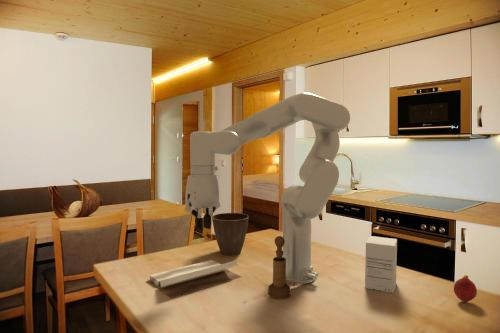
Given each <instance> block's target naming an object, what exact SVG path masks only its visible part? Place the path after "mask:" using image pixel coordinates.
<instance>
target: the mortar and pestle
mask: <svg viewBox="0 0 500 333" xmlns="http://www.w3.org/2000/svg"><path fill="white" fill-rule="evenodd" d="M284 243H285V240H284V238H283V235H282V236H281V235H280V236H276V237H275V238H274V244H275V247H277V249H276V250H275V254H276V257H273V258H272V283H271V284H270V285H269V286H268V292H267V293H268V297H270V298H272V299H277V300H283V299H287V298H289V297H290V296H291V286H290V285H289V284H288V283H287V282H286V281H287V280H286V259H285V258H283V245H284Z"/></svg>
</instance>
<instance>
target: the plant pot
mask: <svg viewBox="0 0 500 333" xmlns="http://www.w3.org/2000/svg"><path fill="white" fill-rule="evenodd" d="M211 222H212V226H213V231H214V236H215V239H216V242H217V245H218V248H219V251H220V254H221V255H225V256H235V255H236V256H238V255H241V253H242V250H243V247H244V243H245V240H246V235H247V232H248V225H249V215H248V214H245V213H241V212H223V213H217V214H213V216H211Z"/></svg>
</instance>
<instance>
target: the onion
mask: <svg viewBox="0 0 500 333" xmlns="http://www.w3.org/2000/svg"><path fill="white" fill-rule="evenodd" d="M477 290H478V289H477V287H476V284H475V283H474V282H473V281H472V280H471V279H469V275H467V274H464V275H463V277H461V278H459V279H457V280H456V281H455V283H454V285H453V293H454V295H455V296H456V297H457V298H458V299H459V300H460V301H461V302H463V303H467V302H468V303H469V302H470V301H472V300H474V299H475V298H476V297H477V295H478V291H477Z"/></svg>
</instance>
